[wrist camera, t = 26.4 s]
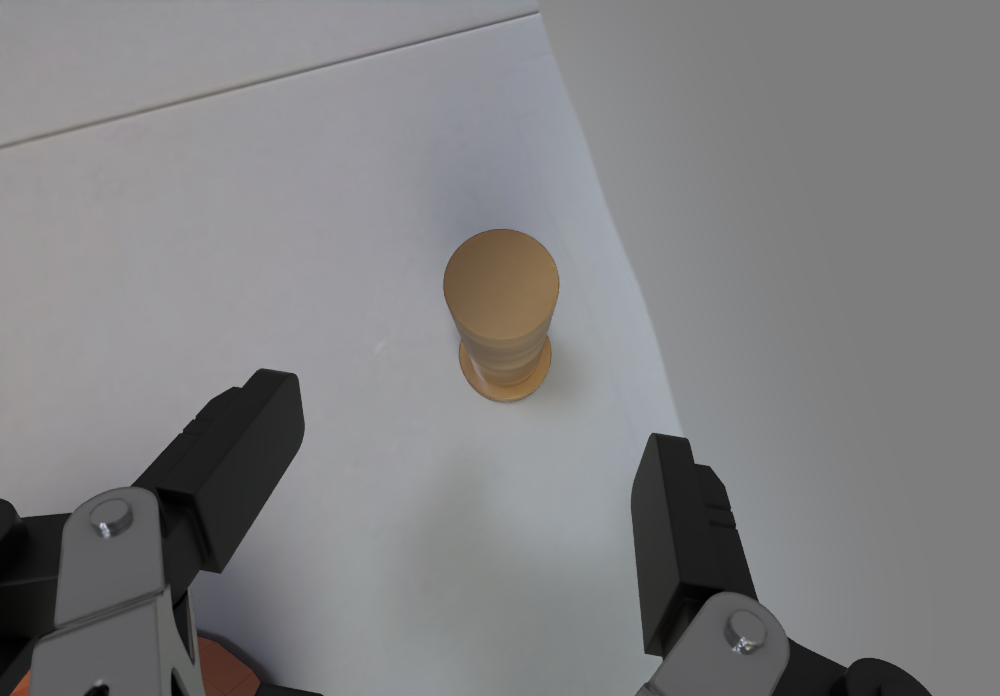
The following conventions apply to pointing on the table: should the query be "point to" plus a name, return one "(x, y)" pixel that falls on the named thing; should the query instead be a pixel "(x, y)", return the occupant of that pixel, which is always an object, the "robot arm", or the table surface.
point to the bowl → (205, 673)
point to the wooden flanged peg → (502, 311)
